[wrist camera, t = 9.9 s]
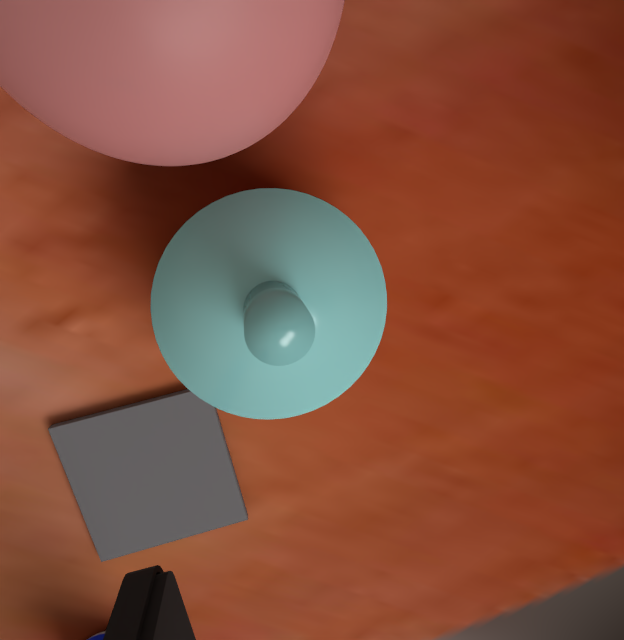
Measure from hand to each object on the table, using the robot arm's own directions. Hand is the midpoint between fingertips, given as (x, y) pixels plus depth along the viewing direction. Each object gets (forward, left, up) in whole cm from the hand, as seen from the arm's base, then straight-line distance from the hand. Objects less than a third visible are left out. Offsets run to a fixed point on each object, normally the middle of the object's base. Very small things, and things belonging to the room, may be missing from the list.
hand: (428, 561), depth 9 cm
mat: (+12, +8, -23) cm, 27 cm away
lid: (+1, -2, -18) cm, 18 cm away
